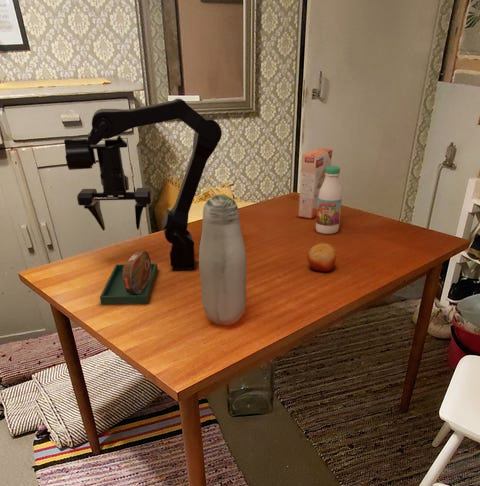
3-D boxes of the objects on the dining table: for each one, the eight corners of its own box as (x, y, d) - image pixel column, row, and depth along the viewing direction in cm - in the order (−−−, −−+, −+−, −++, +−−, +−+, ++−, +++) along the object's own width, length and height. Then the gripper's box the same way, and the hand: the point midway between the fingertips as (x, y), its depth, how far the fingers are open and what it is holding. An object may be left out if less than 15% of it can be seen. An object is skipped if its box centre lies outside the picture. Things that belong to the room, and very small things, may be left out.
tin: (135, 300, 124) (130, 268, 119) (123, 299, 124) (118, 267, 119) (154, 276, 136) (150, 246, 131) (143, 275, 136) (139, 246, 131)
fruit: (340, 259, 141) (339, 240, 134) (332, 281, 139) (330, 263, 132) (313, 255, 144) (311, 236, 137) (305, 276, 141) (302, 258, 134)
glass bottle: (250, 328, 112) (250, 201, 95) (206, 333, 110) (198, 205, 94) (241, 309, 120) (240, 188, 103) (200, 314, 118) (191, 192, 101)
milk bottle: (315, 226, 169) (320, 164, 157) (338, 227, 168) (344, 164, 156) (315, 234, 163) (320, 169, 151) (338, 234, 162) (345, 170, 150)
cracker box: (312, 219, 176) (317, 155, 163) (297, 217, 178) (300, 154, 166) (327, 209, 185) (333, 148, 173) (313, 207, 188) (317, 147, 175)
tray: (157, 270, 140) (156, 263, 138) (147, 304, 123) (146, 295, 121) (117, 271, 140) (115, 264, 138) (101, 304, 123) (99, 296, 121)
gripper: (152, 159, 130) (158, 219, 139) (81, 161, 130) (92, 221, 139) (146, 169, 121) (154, 232, 130) (70, 170, 121) (83, 234, 130)
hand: (121, 229), depth 132 cm, fingers open, 9 cm apart
